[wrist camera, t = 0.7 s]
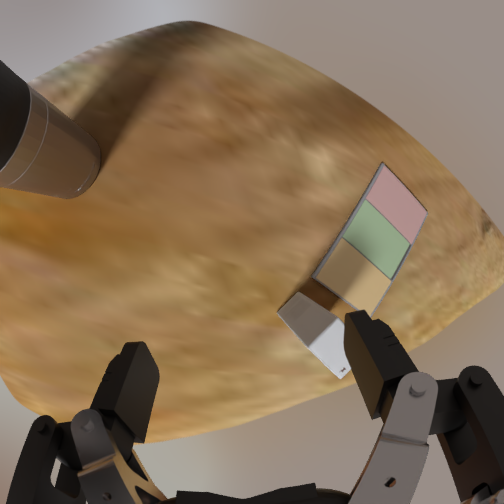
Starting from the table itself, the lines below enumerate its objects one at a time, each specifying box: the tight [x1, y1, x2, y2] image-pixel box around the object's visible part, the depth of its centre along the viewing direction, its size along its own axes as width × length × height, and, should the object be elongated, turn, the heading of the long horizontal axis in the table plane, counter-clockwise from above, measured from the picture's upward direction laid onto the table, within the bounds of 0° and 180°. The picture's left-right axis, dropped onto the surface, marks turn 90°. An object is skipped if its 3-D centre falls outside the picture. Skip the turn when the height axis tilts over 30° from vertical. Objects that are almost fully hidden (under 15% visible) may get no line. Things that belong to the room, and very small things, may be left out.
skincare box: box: [277, 291, 351, 379], centre depth 30 cm, size 6×4×12 cm
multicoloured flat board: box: [311, 163, 428, 318], centre depth 37 cm, size 12×20×1 cm, turn 145°
